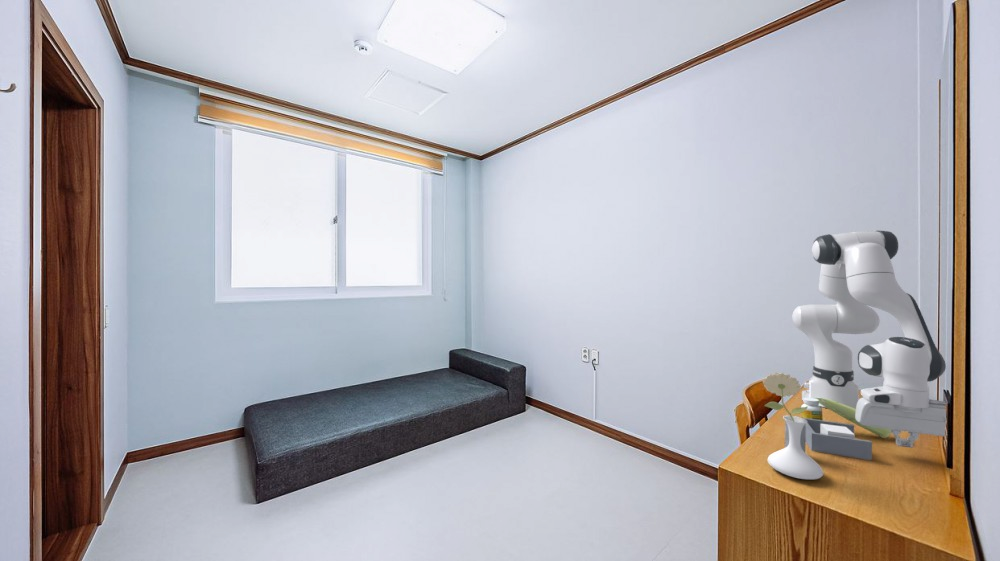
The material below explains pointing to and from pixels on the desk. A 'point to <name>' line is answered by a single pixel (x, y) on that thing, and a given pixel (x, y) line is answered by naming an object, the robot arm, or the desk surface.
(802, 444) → the grey hollow cylinder
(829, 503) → the desk surface
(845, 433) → the white cube
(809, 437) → the box
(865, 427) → the tube
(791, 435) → the flower in vase
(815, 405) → the supplement bottle
